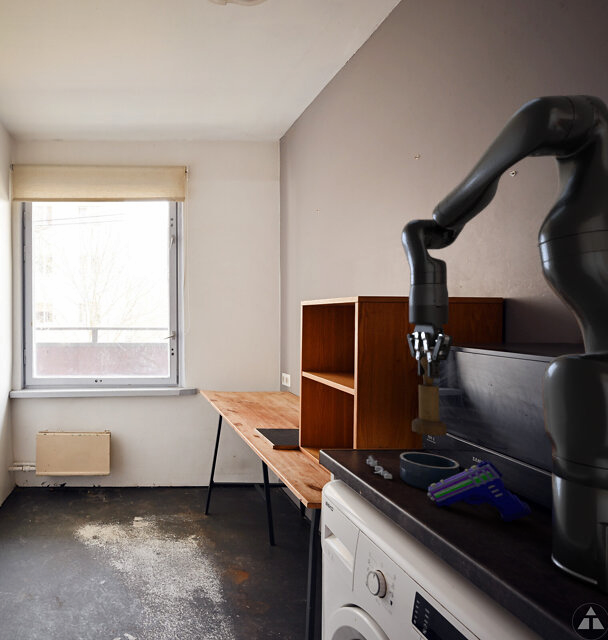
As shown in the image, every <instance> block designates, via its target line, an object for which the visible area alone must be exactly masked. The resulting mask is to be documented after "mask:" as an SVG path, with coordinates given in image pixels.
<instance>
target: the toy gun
mask: <svg viewBox="0 0 608 640" xmlns="http://www.w3.org/2000/svg"><path fill="white" fill-rule="evenodd" d="M502 477H504V476H503V473H502V472H501V471H500V470H499V469H498V468H497V466H495V464H494V463H493V462H492V461H491V460H488V459H484V460H482V461H479V462H477V463H476V464H474V465H472V466H470V468H469V469H468V468H465V469H464V470H463V471H461V472H459V474H457V475H454V476H452V477H450V478H448V479H445V480H440V481H441V482H439V483H436V484H435V483H433V484H431V486H430V487H428V490H427V491H428V492H427V496H428V497H429V498H430V501H435V504H436V506H437V507H438V508H439V507H442V506H444V505H445V506H446V507H448V506H451V505H453V504H456V503H458V502H465V503H466V504H467V505H470V506H474V505H477V506H480V505H483V504H489V505H490V506H491V507H492V508H494V507H495V508H496V510H497V511H498V512H499V514H500V517H501V519H502V520H503V521H504V523H510V522H512V521H515V520H518V519H521V518H523V517H527V516H529V515H530V514H532V510H531V508H530V505H528V503H527V502H526V501H521V499H520V498H519V497H518V496H517V495H516V494H512V493H511V492H510V490H508V489H506V486H505V483H504V481H503V479H502Z"/></svg>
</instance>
